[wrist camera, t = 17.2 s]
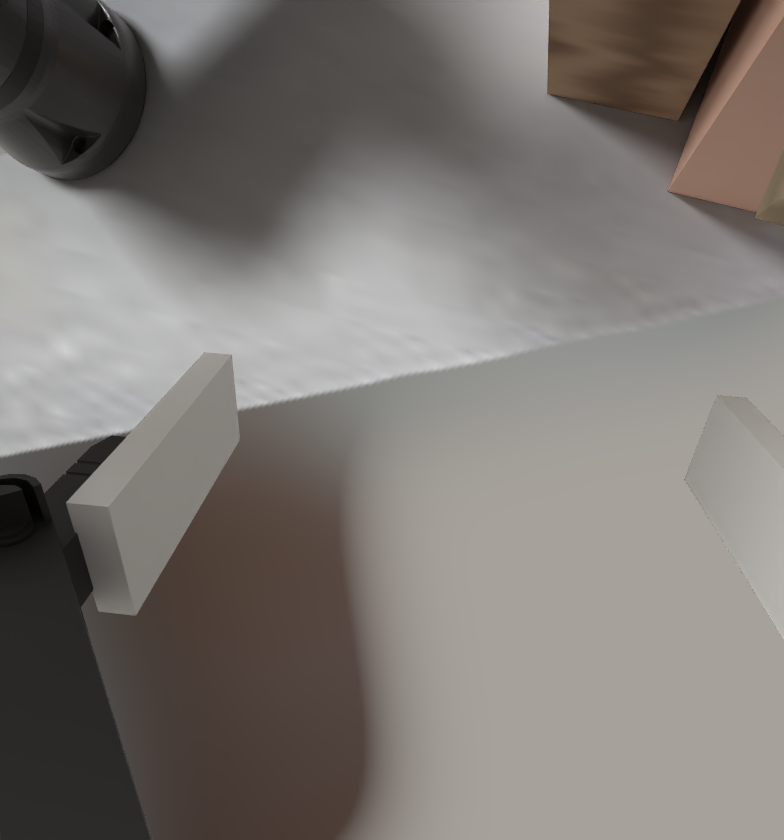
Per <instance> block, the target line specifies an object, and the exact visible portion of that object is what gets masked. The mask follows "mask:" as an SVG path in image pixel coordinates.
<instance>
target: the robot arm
mask: <svg viewBox="0 0 784 840" xmlns="http://www.w3.org/2000/svg"><path fill="white" fill-rule="evenodd" d="M145 88H146V79H145V67H144V61H143V57H142V53H141V50H140V47H139V45H138V42H137V40H136V38H135V36H134V34H133V33H132V31H131V29H130V28H129V27H128V25H127V24H126V23H125V22H124V20H123V19H122V18H121V17H120V16H118V15H117V14H116V13H115V12H114V11H113V10H112V9H110V8H109V7H108V6H107V5H106V4H105V3H103V2H102V1H101V0H0V147H1V148H2V149H3V150H5V151H6V152H7V153H8V154H9V155H10V156H12V157H13V158H14V159H16V160H17V161H18V162H20V163H22V164H23V165H25V166H27V167H29V168H31V169H34V170H36V171H38V172H41V173H43V174H46V175H48V176H51V177H54V178H58V179H64V180H74V179H81V178H85V177H88V176H91V175H93V174H95V173H97V172H99V171H101V170H102V169H104V168H105V167H107V166H108V165H109V164H111V163H112V162H113V161H114V160H115V159H116V158H117V157H118V156H119V155H120V154H121V153H122V151H123V150H124V149H125V147H126V146H127V144H128V143H129V141H130V140H131V138H132V136H133V134H134V132H135V130H136V128H137V125H138V123H139V120H140V117H141V113H142V110H143V105H144V99H145ZM239 440H240V437H239V426H238V415H237V405H236V394H235V384H234V373H233V363H232V355H228V354H216V353H205V352H204V354H203V355H202V356H201V357H200V358H199V359H198V360H197V361H196V362H195V363H194V364H193V365H192V367H191V368H190V369H189V370H188V371H187V372H186V373H185V374H184V375H183V376H182V377H181V378H180V380H179V381H178V382H177V383H176V384H175V385H174V386H173V387H172V388H171V389H170V390H169V391H168V393H167V394H166V395H165V396H164V397H163V398H162V399H161V400H160V401H159V402H158V403H157V404H156V406H155V407H154V408H153V409H152V410H151V411H150V412H149V413H148V414H147V415H146V416H145V417H144V419H143V420H142V421H141V422H140V423H139V424H138V425H137V426H136V427H135V428H134V429H133V430H132V432H131V433H130V434H129V435H128V436H127V437H121V436H110V437H108V438H106V439H105V440H103V441H101V442H99V443H97V444H95V445H93V446H92V447H90V448H89V449H88V450H87V451H86V453H84V454H83V455H82V457H80V458H79V459H78V461H77V463H74V464H73V465H72V466H71V467H70V468H69V469H68V470H67V471H66V475H62V476H61V477H60V478H59V480H58V481H56V482H55V483H54V484H53V486H52V487H50V488H49V489H48V490H47V492H45V493H44V492H43V489H42V486H41V484H40V483H39V481H38V480H37V479H36V478H34V477H31V476H28V475H25V474H8V475H2V476H0V840H152V837H151V834H150V830H149V827H148V824H147V821H146V818H145V814H144V811H143V808H142V805H141V801H140V798H139V795H138V792H137V789H136V785H135V782H134V779H133V775H132V772H131V769H130V766H129V762H128V759H127V756H126V753H125V750H124V746H123V743H122V740H121V736H120V733H119V730H118V727H117V724H116V720H115V717H114V714H113V711H112V707H111V704H110V701H109V698H108V694H107V691H106V688H105V685H104V681H103V678H102V675H101V672H100V668H99V665H98V662H97V659H96V656H95V653H94V649H93V646H92V643H91V639H90V636H89V633H88V630H87V626H86V623H85V620H84V617H83V614H82V611H81V606H82V605H83V603H84V602H85V600H86V599H87V597H88V596H89V595H90V593H91V592H93V595H94V598H95V602H96V605H97V608H98V611H100V612H108V613H118V614H128V615H136V614H137V612H138V611H139V609H140V608H141V606H142V604H143V602H144V601H145V599H146V597H147V595H148V594H149V592H150V590H151V589H152V587H153V585H154V584H155V582H156V580H157V579H158V577H159V575H160V574H161V572H162V570H163V569H164V567H165V565H166V563H167V562H168V560H169V558H170V557H171V555H172V553H173V552H174V550H175V548H176V547H177V545H178V543H179V541H180V540H181V538H182V536H183V535H184V533H185V531H186V530H187V528H188V526H189V524H190V523H191V521H192V519H193V518H194V516H195V514H196V512H197V511H198V509H199V508H200V506H201V504H202V502H203V500H204V499H205V497H206V496H207V494H208V492H209V491H210V489H211V487H212V485H213V484H214V482H215V480H216V478H217V477H218V475H219V474H220V472H221V470H222V469H223V467H224V465H225V463H226V462H227V460H228V458H229V457H230V455H231V453H232V452H233V450H234V448H235V447H236V445H237V443H238V441H239ZM684 480H685V481H686V483H687V484H688V486H689V488H690V489H691V491H692V493H693V494H694V496H695V497H696V499H697V501H698V502H699V504H700V505H701V507H702V509H703V510H704V512H705V514H706V515H707V517H708V519H709V520H710V522H711V523H712V525H713V527H714V528H715V530H716V531H717V533H718V535H719V536H720V538H721V540H722V541H723V542H724V544H725V546H726V548H727V549H728V551H729V552H730V554H731V556H732V557H733V559H734V560H735V562H736V564H737V565H738V567H739V569H740V570H741V572H742V573H743V575H744V577H745V578H746V580H747V582H748V583H749V585H750V586H751V588H752V590H753V591H754V593H755V595H756V596H757V598H758V599H759V601H760V603H761V604H762V606H763V607H764V609H765V611H766V612H767V614H768V615H769V617H770V619H771V620H772V622H773V624H774V625H775V627H776V629H777V630H778V632H779V633H780V635H781V636H782V638H783V640H784V436H783V435H782V434H781V433H780V432H779V431H778V430H777V429H776V428H775V427H774V426H773V425H772V424H771V423H770V422H769V421H768V419H766V417H764V416H763V414H762V413H761V412H760V411H759V410H758V409H757V408H756V407H755V406H754V405H753V404H752V403H751V402H750V401H749V400H748V399H747V398H739V397H728V396H717V397H716V400H715V402H714V405H713V407H712V409H711V412H710V415H709V417H708V420H707V422H706V425H705V427H704V431H703V433H702V435H701V438H700V440H699V443H698V445H697V448H696V451H695V453H694V456H693V458H692V461H691V463H690V466H689V469H688V471H687V474H686V476H685V479H684Z"/></svg>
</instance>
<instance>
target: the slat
mask: <svg viewBox="0 0 784 840" xmlns="http://www.w3.org/2000/svg"><path fill="white" fill-rule="evenodd" d="M755 219H759V220H763V221H767V222H771V223H775V224H779V225H783V226H784V148H783V151H782V153H781V155H780V158H779V160H778V163H777V165H776V168H775V170H774V172H773V175H772V177H771V180H770V182H769V184H768V187H767V189H766V192H765V194H764V196H763V199H762V201H761V204H760V206H759V208H758V211H757V213H756V216H755Z"/></svg>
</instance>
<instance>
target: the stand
mask: <svg viewBox="0 0 784 840" xmlns="http://www.w3.org/2000/svg"><path fill="white" fill-rule="evenodd" d="M740 1H741V0H549V42H548V86H547V93H548V94H552V95H557V96H562V97H567V98H571V99H576V100H581V101H585V102H590V103H595V104H600V105H604V106H609V107H614V108H619V109H623V110H628V111H633V112H638V113H642V114H647V115H652V116H656V117H661V118H666V119H671V120H675V121H678V119H679V118H680V116H681V114H682V112H683V110H684V108H685V106H686V104H687V102H688V100H689V98H690V97H691V95H692V93H693V91H694V89H695V87H696V85H697V83H698V81H699V79H700V77H701V75H702V74H703V72H704V70H705V68H706V66H707V64H708V62H709V60H710V58H711V56H712V54H713V53H714V51H715V49H716V47H717V45H718V43H719V41H720V39H721V37H722V35H723V33H724V32H725V30H726V28H727V26H728V24H729V22H730V20H731V18H732V16H733V14H734V12H735V11H736V9H737V7H738V5H739V3H740Z"/></svg>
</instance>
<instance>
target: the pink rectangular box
mask: <svg viewBox="0 0 784 840" xmlns="http://www.w3.org/2000/svg"><path fill="white" fill-rule="evenodd" d="M783 148H784V0H741V1H740V3H739V5H738V7H737V9H736V12H735V14H734V17H733V20H732V22H731V25H730V27H729V30H728V33H727V35H726V38H725V41H724V43H723V46H722V49H721V51H720V54H719V57H718V59H717V62H716V65H715V67H714V70H713V73H712V75H711V78H710V81H709V83H708V86H707V88H706V91H705V94H704V96H703V99H702V102H701V104H700V107H699V110H698V112H697V115H696V118H695V120H694V123H693V126H692V128H691V131H690V134H689V136H688V139H687V141H686V144H685V147H684V149H683V152H682V155H681V157H680V160H679V163H678V165H677V168H676V171H675V173H674V176H673V179H672V181H671V184H670V187H669V189H668V191H669V192H673V193H677V194H682V195H686V196H690V197H694V198H698V199H703V200H707V201H711V202H715V203H719V204H723V205H728V206H732V207H736V208H740V209H744V210H749V211H753V212H757V211H758V208H759V206H760V204H761V201H762V199H763V196H764V194H765V192H766V189H767V187H768V184H769V182H770V180H771V177H772V175H773V172H774V170H775V168H776V165H777V163H778V160H779V158H780V155H781V153H782V151H783Z"/></svg>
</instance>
